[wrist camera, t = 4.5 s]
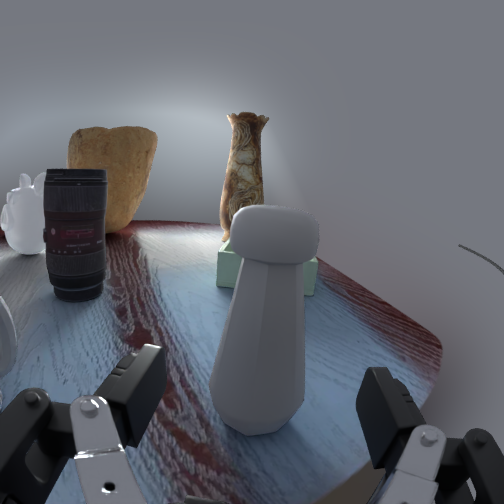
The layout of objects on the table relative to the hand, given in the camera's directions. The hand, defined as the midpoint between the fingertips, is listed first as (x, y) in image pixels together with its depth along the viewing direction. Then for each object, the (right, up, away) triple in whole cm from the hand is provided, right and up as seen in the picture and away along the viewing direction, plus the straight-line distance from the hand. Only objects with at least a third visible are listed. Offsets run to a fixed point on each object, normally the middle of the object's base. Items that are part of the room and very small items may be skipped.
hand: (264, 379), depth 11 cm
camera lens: (-22, 0, +21) cm, 31 cm away
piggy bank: (-42, +4, +32) cm, 53 cm away
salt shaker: (0, -6, +6) cm, 9 cm away
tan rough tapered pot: (-36, +9, +56) cm, 67 cm away
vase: (-4, +7, +60) cm, 61 cm away
